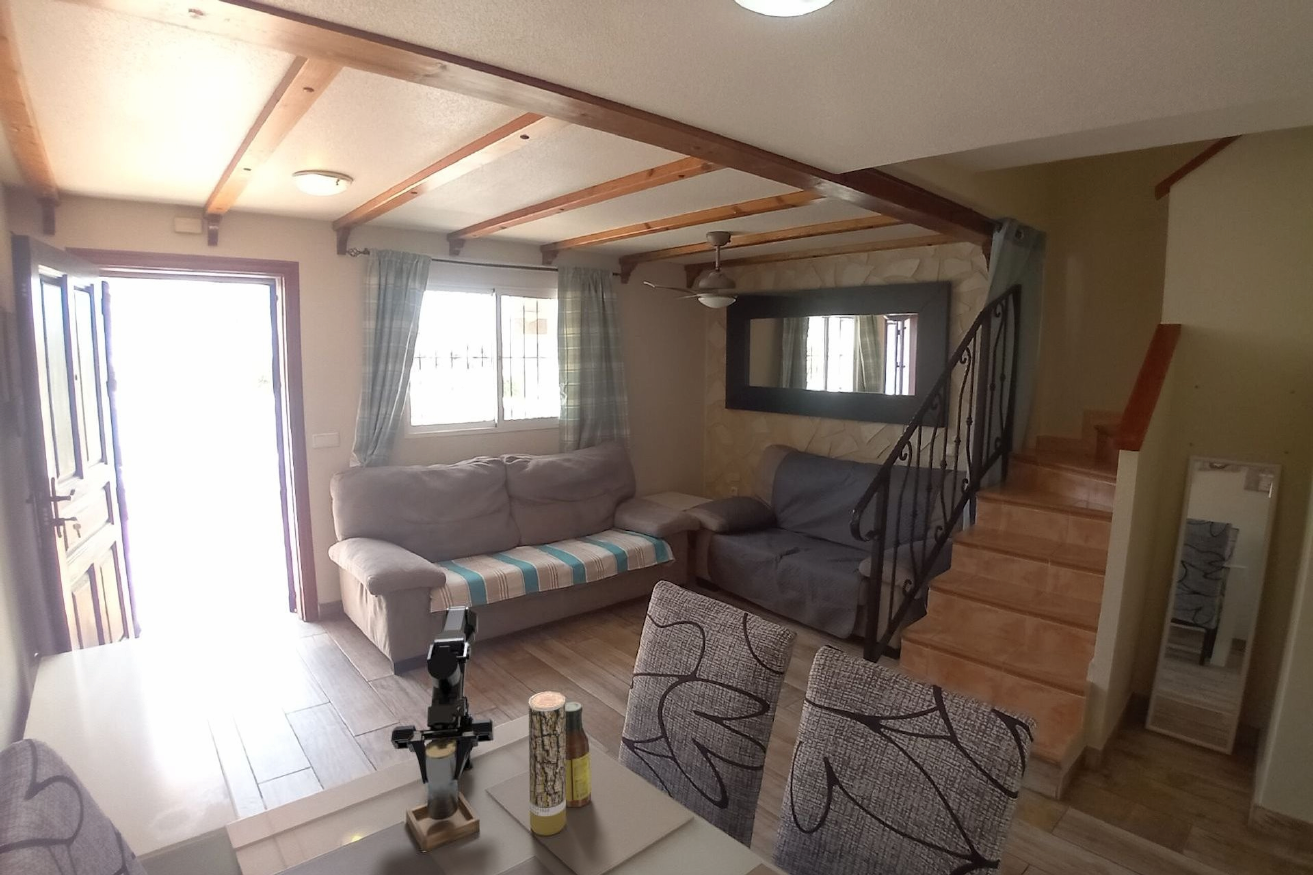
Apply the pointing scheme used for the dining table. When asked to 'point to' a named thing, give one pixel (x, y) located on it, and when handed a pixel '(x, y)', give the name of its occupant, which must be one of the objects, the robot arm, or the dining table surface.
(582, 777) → the sauce bottle
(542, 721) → the paper tube
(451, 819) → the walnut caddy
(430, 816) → the tea tin
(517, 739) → the dining table surface
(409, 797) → the dining table surface
